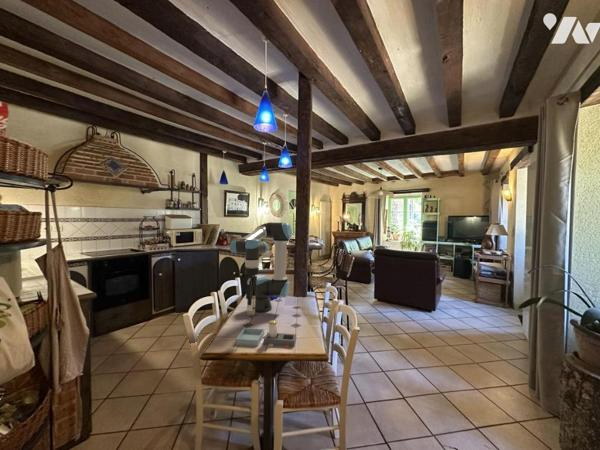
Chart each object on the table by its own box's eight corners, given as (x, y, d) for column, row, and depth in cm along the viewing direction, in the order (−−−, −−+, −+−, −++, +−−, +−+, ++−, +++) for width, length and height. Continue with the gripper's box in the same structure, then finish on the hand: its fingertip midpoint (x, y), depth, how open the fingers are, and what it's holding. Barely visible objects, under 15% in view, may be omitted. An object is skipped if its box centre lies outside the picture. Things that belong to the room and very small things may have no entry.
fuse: (269, 337, 143) (270, 319, 142) (277, 338, 142) (277, 320, 142) (268, 341, 138) (268, 322, 138) (276, 341, 138) (276, 323, 138)
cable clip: (272, 300, 212) (272, 293, 212) (268, 299, 215) (269, 292, 215) (282, 297, 221) (282, 290, 221) (278, 296, 224) (278, 289, 224)
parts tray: (244, 333, 150) (244, 327, 150) (264, 334, 149) (264, 329, 149) (235, 344, 136) (235, 338, 136) (257, 345, 135) (258, 340, 135)
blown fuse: (248, 312, 145) (248, 295, 144) (256, 313, 144) (256, 295, 144) (245, 315, 140) (246, 297, 140) (253, 316, 140) (254, 297, 140)
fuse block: (267, 337, 145) (267, 332, 145) (296, 339, 143) (296, 334, 143) (263, 345, 135) (263, 340, 135) (294, 347, 134) (294, 342, 134)
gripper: (250, 264, 151) (249, 303, 151) (240, 269, 133) (239, 314, 134) (262, 264, 150) (261, 304, 150) (254, 270, 133) (253, 314, 133)
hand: (251, 308), depth 142 cm, fingers closed on blown fuse, 4 cm apart
